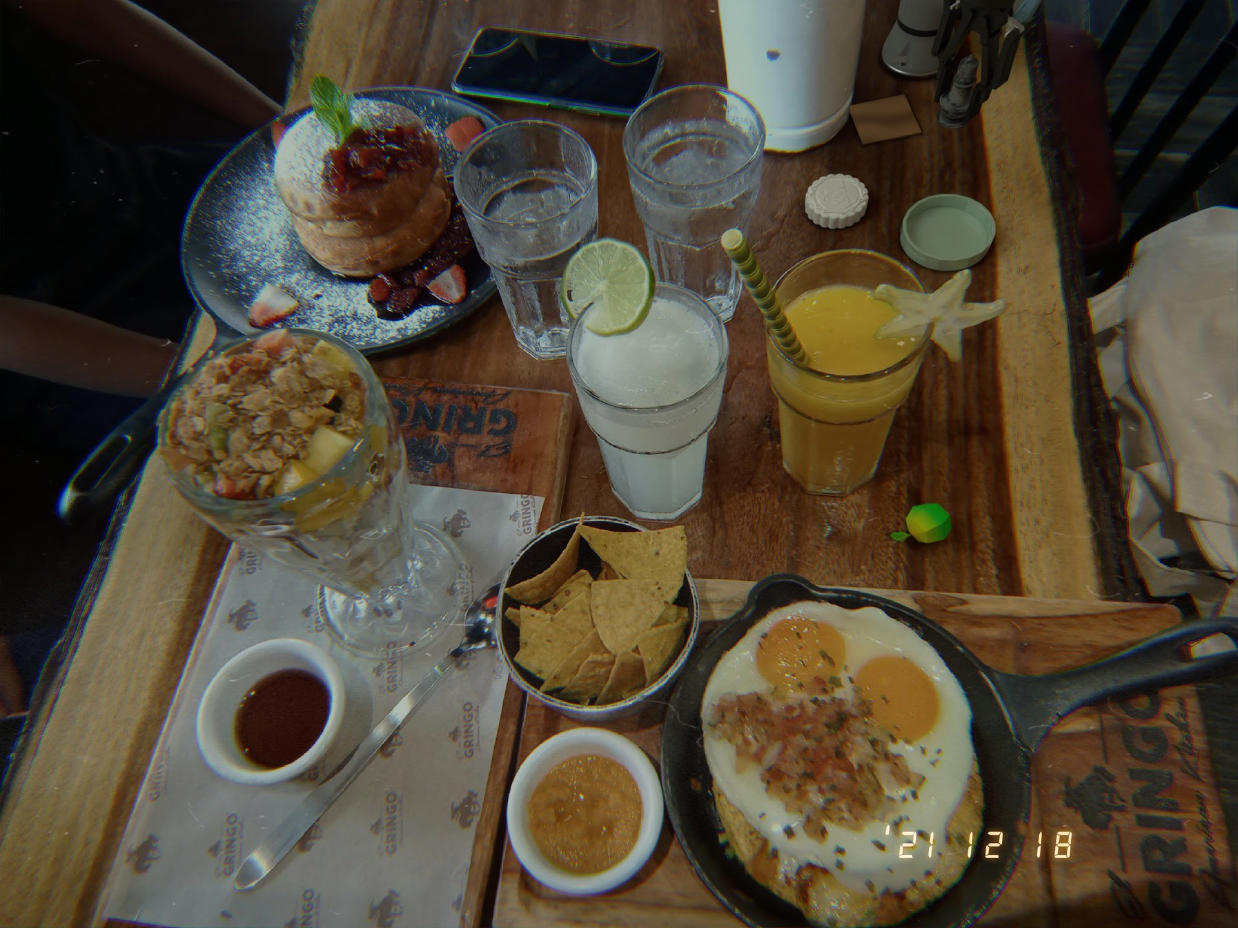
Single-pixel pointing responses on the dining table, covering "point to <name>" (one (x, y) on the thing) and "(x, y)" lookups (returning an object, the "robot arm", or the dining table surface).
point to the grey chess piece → (958, 95)
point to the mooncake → (836, 201)
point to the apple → (926, 524)
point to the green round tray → (947, 232)
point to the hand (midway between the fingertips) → (956, 107)
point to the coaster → (884, 119)
